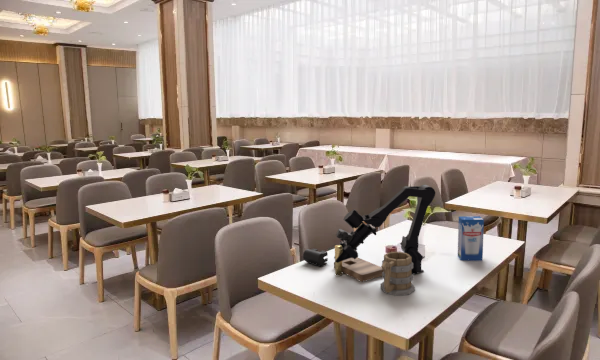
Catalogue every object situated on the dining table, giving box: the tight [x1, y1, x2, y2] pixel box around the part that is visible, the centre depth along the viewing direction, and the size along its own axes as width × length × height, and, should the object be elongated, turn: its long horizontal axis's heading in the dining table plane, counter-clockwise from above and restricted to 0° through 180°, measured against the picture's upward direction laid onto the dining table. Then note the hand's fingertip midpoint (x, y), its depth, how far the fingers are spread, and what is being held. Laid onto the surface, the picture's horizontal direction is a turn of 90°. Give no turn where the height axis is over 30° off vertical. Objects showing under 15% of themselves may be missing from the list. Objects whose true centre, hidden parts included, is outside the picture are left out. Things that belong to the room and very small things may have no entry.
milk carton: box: [457, 215, 485, 262], centre depth 205 cm, size 10×6×20 cm, turn 84°
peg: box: [334, 244, 343, 276], centre depth 190 cm, size 3×3×13 cm
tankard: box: [380, 251, 416, 296], centre depth 170 cm, size 20×13×15 cm, turn 141°
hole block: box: [333, 256, 384, 283], centre depth 193 cm, size 20×13×3 cm, turn 32°
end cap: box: [302, 248, 329, 267], centre depth 205 cm, size 10×7×7 cm
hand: (335, 260), depth 190 cm, fingers open, 4 cm apart
